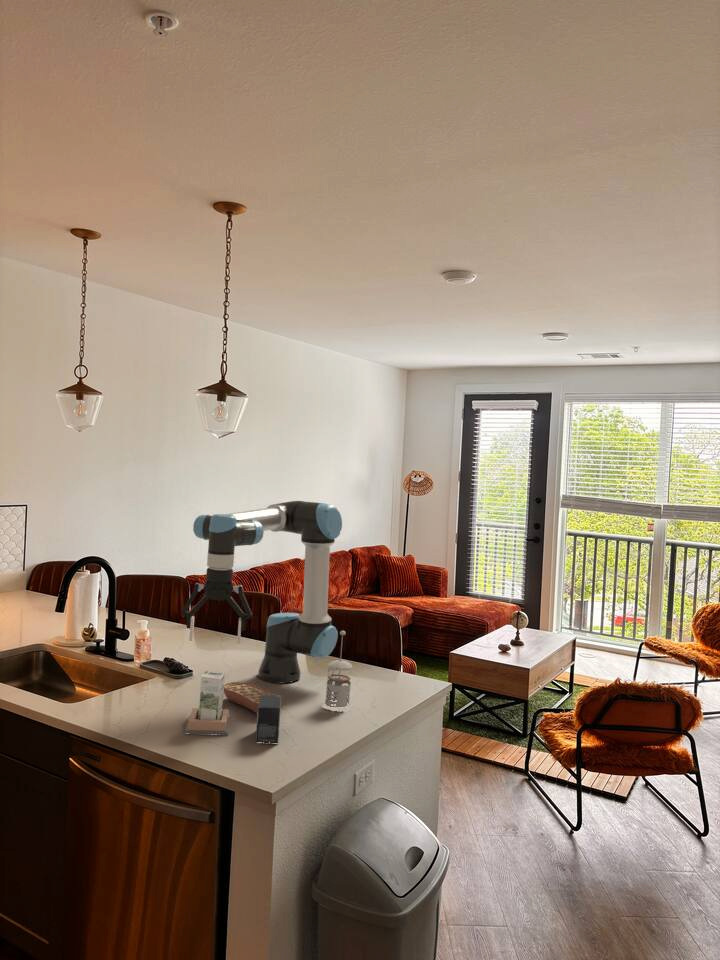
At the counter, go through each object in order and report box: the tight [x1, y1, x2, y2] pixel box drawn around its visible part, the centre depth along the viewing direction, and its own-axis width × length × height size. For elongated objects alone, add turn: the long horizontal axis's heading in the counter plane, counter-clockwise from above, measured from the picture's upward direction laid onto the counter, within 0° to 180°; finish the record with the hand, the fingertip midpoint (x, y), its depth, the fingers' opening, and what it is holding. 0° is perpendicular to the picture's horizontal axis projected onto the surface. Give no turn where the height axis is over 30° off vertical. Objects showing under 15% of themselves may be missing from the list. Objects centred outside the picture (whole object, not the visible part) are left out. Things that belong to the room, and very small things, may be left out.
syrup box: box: [198, 670, 226, 720], centre depth 208 cm, size 6×6×14 cm
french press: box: [324, 630, 354, 707], centre depth 235 cm, size 10×12×25 cm
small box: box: [255, 694, 282, 744], centre depth 204 cm, size 11×6×10 cm, turn 5°
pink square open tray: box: [184, 707, 232, 736], centre depth 208 cm, size 12×12×4 cm
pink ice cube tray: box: [223, 681, 275, 714], centre depth 228 cm, size 23×10×5 cm, turn 45°
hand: (215, 640), depth 210 cm, fingers open, 13 cm apart
